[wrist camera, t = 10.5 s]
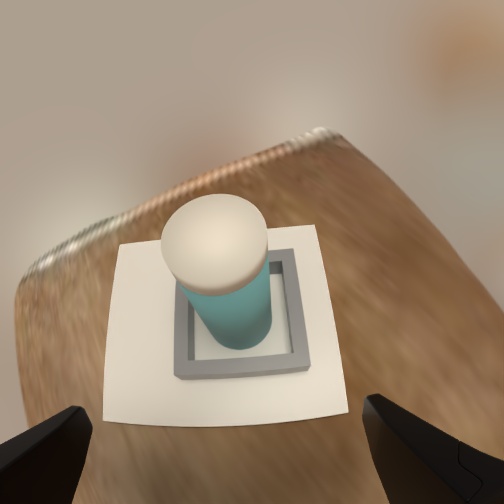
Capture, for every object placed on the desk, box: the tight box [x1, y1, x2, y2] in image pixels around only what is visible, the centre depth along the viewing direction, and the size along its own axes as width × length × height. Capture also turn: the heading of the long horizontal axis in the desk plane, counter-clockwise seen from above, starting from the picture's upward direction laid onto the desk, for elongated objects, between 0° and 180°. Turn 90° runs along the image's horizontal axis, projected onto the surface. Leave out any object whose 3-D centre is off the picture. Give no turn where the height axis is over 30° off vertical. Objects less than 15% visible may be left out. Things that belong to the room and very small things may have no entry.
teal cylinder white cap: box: [161, 194, 272, 350], centre depth 18 cm, size 5×5×11 cm
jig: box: [103, 225, 348, 427], centre depth 23 cm, size 16×18×3 cm
